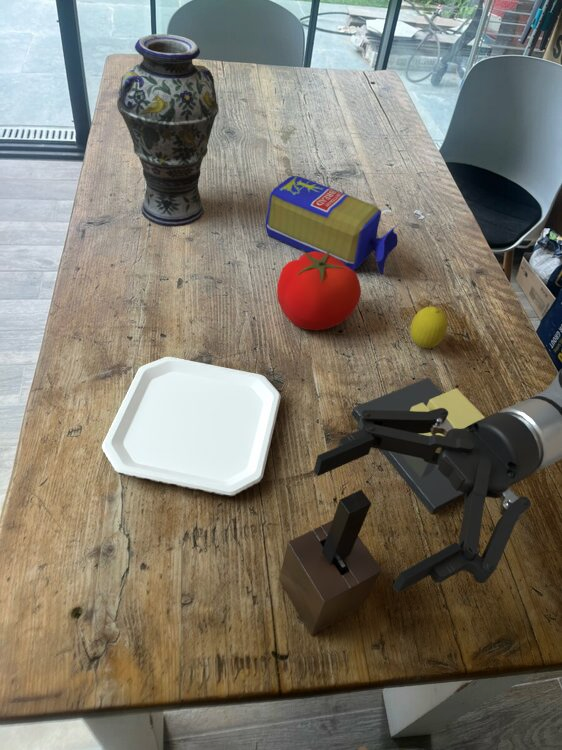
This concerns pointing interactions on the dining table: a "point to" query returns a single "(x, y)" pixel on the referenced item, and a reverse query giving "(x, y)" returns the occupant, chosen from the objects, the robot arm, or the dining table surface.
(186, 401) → the plate
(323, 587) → the knife block
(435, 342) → the lemon
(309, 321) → the tomato
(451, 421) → the butter
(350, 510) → the knife
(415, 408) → the butter slice
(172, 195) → the vase
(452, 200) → the dining table surface
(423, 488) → the board
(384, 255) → the bread
